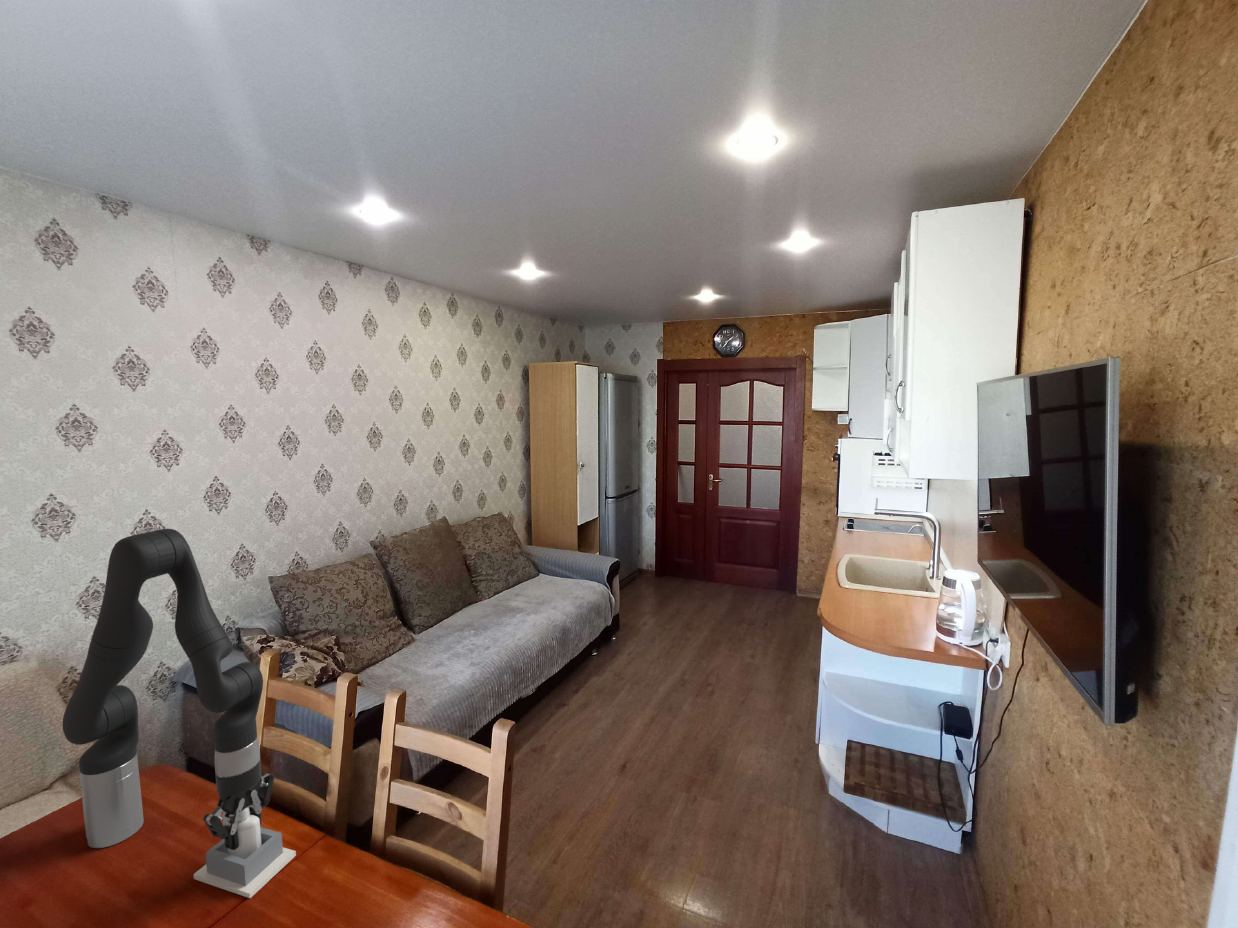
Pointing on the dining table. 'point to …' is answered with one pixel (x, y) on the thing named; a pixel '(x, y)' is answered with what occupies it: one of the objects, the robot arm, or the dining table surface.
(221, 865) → the socket
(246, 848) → the eye dropper bottle
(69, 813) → the dining table surface
